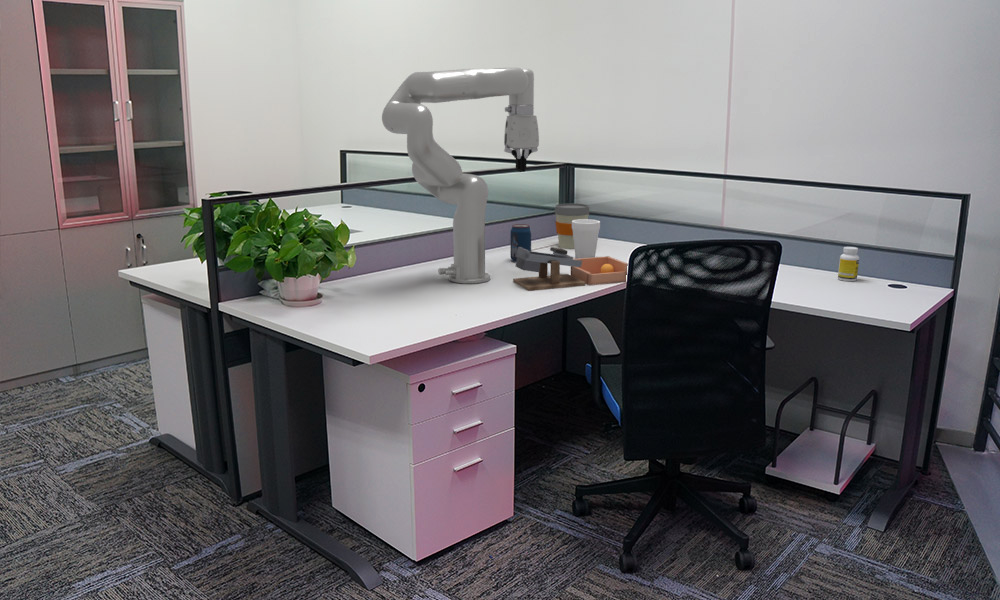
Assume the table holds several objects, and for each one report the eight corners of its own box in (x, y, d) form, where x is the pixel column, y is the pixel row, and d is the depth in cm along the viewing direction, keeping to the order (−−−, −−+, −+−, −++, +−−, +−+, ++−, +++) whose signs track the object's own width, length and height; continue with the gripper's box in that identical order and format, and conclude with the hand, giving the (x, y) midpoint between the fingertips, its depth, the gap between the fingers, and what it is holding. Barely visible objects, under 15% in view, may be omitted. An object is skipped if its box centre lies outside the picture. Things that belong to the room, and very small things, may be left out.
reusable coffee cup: (579, 251, 294) (580, 209, 290) (548, 247, 300) (548, 206, 297) (594, 245, 304) (595, 204, 301) (563, 242, 311) (564, 202, 307)
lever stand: (528, 290, 237) (528, 265, 235) (513, 281, 247) (513, 257, 246) (585, 285, 243) (585, 260, 241) (567, 277, 254) (568, 253, 252)
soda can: (532, 259, 280) (532, 224, 278) (529, 263, 274) (530, 227, 271) (511, 258, 281) (511, 223, 278) (509, 262, 275) (509, 226, 272)
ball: (602, 272, 248) (610, 262, 249) (595, 269, 252) (604, 260, 252) (610, 280, 250) (618, 270, 250) (604, 278, 254) (612, 268, 254)
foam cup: (600, 262, 275) (601, 223, 272) (572, 262, 275) (572, 223, 272) (597, 256, 284) (598, 219, 281) (570, 256, 284) (571, 219, 281)
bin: (588, 285, 243) (588, 266, 242) (570, 276, 254) (570, 259, 253) (627, 281, 248) (627, 263, 246) (608, 273, 259) (608, 256, 257)
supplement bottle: (857, 282, 246) (861, 249, 244) (838, 281, 248) (841, 248, 246) (856, 278, 251) (859, 246, 249) (837, 277, 253) (840, 245, 250)
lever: (523, 270, 237) (527, 250, 236) (504, 260, 251) (507, 241, 250) (580, 277, 245) (584, 257, 244) (558, 267, 259) (562, 248, 257)
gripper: (502, 111, 247) (502, 173, 251) (548, 110, 252) (547, 171, 257) (494, 110, 254) (494, 171, 258) (538, 110, 259) (538, 169, 263)
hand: (521, 171), depth 257 cm, fingers closed
